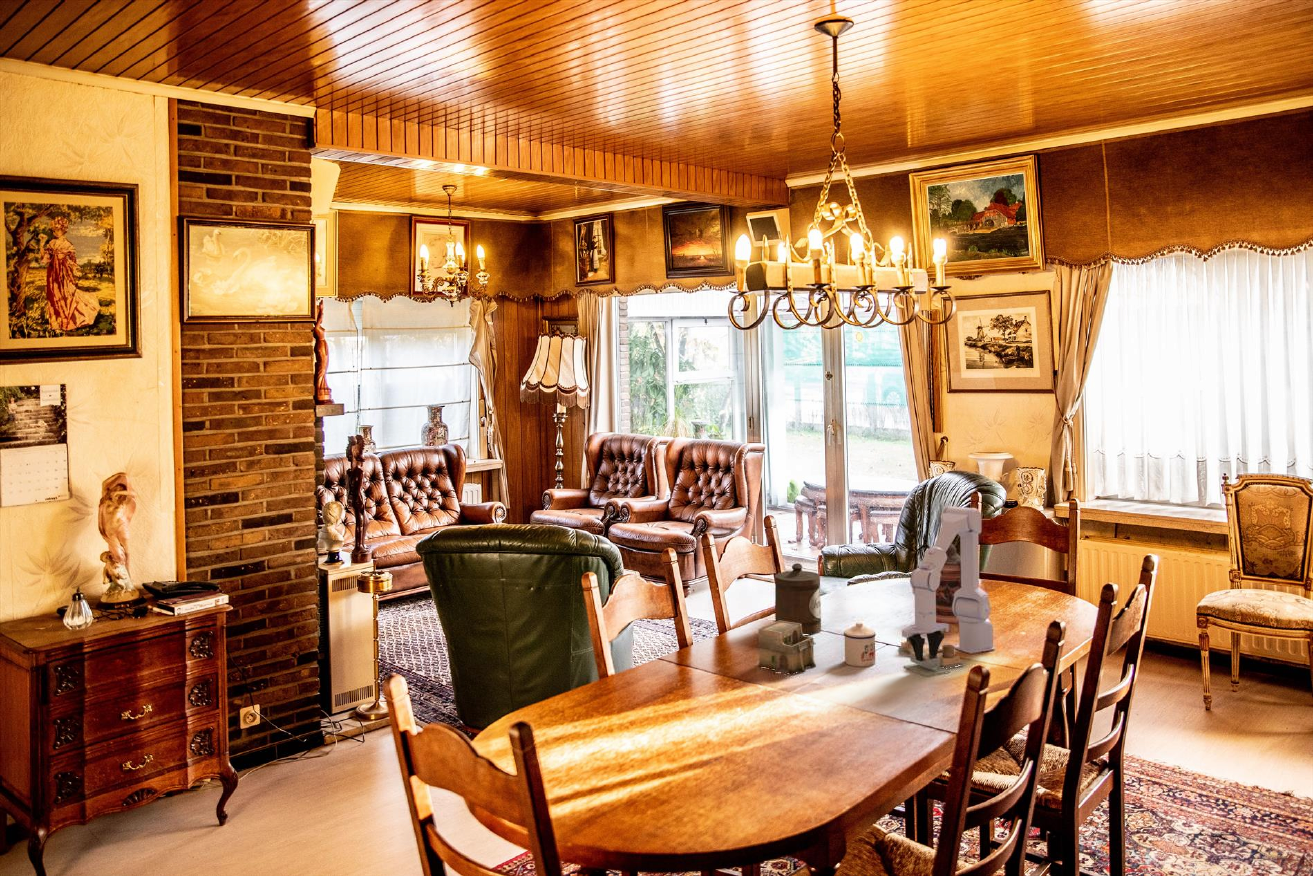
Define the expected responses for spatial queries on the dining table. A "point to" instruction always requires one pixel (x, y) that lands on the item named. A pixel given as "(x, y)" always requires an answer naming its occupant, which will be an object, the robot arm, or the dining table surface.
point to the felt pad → (925, 670)
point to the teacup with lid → (859, 646)
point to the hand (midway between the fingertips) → (926, 659)
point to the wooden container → (798, 598)
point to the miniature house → (785, 648)
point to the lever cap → (926, 660)
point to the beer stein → (948, 587)
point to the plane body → (944, 654)
